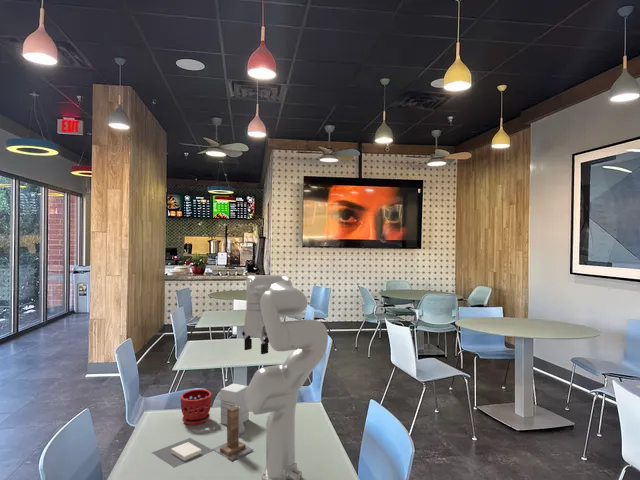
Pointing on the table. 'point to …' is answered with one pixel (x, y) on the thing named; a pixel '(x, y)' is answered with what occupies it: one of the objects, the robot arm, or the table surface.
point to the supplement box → (233, 401)
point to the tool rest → (234, 455)
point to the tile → (186, 451)
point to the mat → (176, 461)
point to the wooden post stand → (232, 432)
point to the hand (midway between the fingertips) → (256, 351)
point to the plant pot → (196, 406)
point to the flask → (240, 424)
